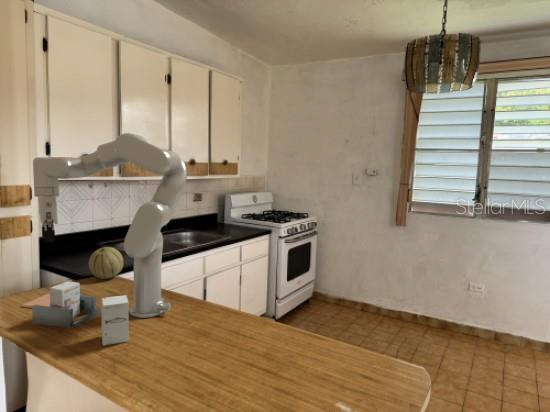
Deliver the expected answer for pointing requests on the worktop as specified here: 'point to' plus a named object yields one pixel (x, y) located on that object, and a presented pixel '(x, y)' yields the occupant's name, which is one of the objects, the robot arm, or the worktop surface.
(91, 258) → the cantaloupe
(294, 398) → the worktop surface
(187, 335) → the worktop surface
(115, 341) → the supplement box
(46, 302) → the plate
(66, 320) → the grey frame rack
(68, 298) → the ink box
